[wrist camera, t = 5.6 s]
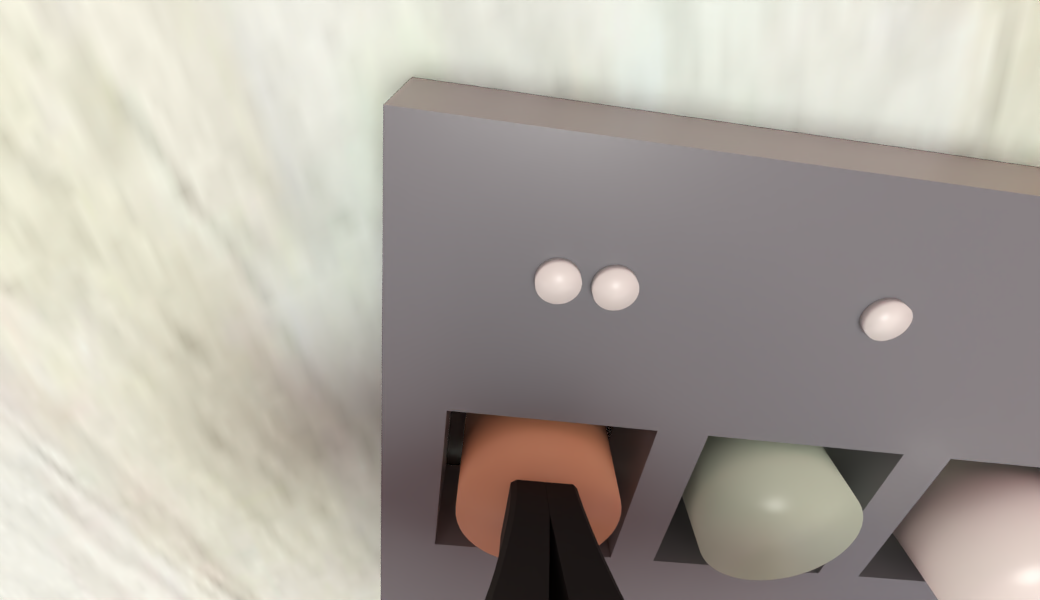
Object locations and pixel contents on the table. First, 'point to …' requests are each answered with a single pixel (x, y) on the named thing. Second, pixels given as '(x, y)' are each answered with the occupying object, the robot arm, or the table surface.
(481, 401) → the button panel
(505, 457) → the button terracotta
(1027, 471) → the button white
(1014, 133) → the table surface
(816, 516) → the button green
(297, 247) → the table surface
